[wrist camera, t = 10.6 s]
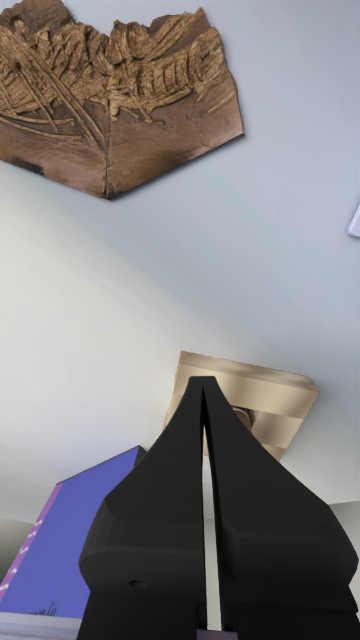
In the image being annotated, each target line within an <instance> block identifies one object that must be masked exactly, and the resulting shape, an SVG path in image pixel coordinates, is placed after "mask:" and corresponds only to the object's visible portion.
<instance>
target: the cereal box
mask: <svg viewBox="0 0 360 640" xmlns="http://www.w3.org/2000/svg"><path fill="white" fill-rule="evenodd" d="M146 453H147V452H146V451H145V450H144V449H143V448H142V447H141V446H140V445H138V446H136V447H134V448H132V449H130V450H128V451H126V452H124V453H121V454H119V455H117V456H115V457H113V458H111V459H109V460H107V461H104V462H102V463H100V464H98V465H96V466H94V467H92V468H89V469H87V470H85V471H83V472H81V473H79V474H77V475H75V476H72V477H70V478H68V479H66V480H64V481H62V482H60V483H58V484H57V485H56V487H55V488H54V490H53V492H52V494H51V496H50V497H49V499H48V501H47V503H46V505H45V506H44V508H43V510H42V512H41V514H40V515H39V517H38V519H37V521H36V523H35V524H34V526H33V528H32V530H31V532H30V533H29V535H28V537H27V539H26V541H25V542H24V544H23V546H22V548H21V550H20V551H19V553H18V555H17V557H16V559H15V560H14V562H13V564H12V566H11V567H10V569H9V571H8V573H7V575H6V577H5V579H4V580H3V582H2V584H1V585H0V612H8V613H19V614H31V615H42V616H54V617H65V618H77V619H82V618H83V615H84V611H85V608H86V604H87V601H88V598H89V594H90V590H89V588H88V586H87V584H86V582H85V581H84V579H83V577H82V575H81V573H80V569H79V565H78V561H79V557H80V555H81V552H82V549H83V546H84V543H85V540H86V537H87V534H88V531H89V529H90V526H91V524H92V522H93V520H94V517H95V515H96V513H97V511H98V509H99V507H100V505H101V503H102V501H103V499H104V497H105V496H106V495H107V494H108V493H109V492H110V491H111V490H112V489H113V488H114V487H115V486H116V485H117V484H118V483H119V482H120V481H121V480H122V479H123V478H125V477H126V476H127V474H128V473H129V472H130V471H131V470H132V469H133V468H134V467H135V466H136V465H137V463H138V462H139V461H140V460H141V459H142V458H143V457H144V455H145V454H146Z"/></svg>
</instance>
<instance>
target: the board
mask: <svg viewBox="0 0 360 640" xmlns="http://www.w3.org/2000/svg"><path fill="white" fill-rule="evenodd" d="M190 376H215V377H216V380H217V382H218V384H219V386H220V388H221V390H222V392H223V394H224V395H225V397H226V399H227V400H228V402H229V403H230V405H233V406H238V407H243V408H247V410H246V412H247V415H248V417H249V422H250V426H251V429H252V433H253V436H254V437H255V438H256V439H257V440H258V441H259V442H260V443H261V444H262V446H263V447H264V448H265V449H266V450H267V451H268V452H269V453H270V454H271V455H272V456H273V457H274V458H275V459H276V460H277V461H278V462H279V461H280V459H281V457H282V456H283V454H284V452H285V451H286V449H287V447H288V445H289V444H290V442H291V440H292V439H293V437H294V435H295V433H296V432H297V430H298V428H299V427H300V425H301V423H302V422H303V420H304V418H305V416H306V415H307V413H308V411H309V410H310V408H311V406H312V404H313V403H314V401H315V399H316V398H317V396H318V394H319V391H318V390H317V389H316V387H315V386H314V385H313V384H312V383H311V381H310V380H309V379H308V378H307V376H302V375H297V374H292V373H287V372H283V371H278V370H273V369H268V368H263V367H258V366H253V365H248V364H243V363H238V362H233V361H228V360H223V359H219V358H214V357H209V356H204V355H199V354H194V353H189V352H184V351H181V354H180V358H179V363H178V367H177V372H176V376H175V380H174V385H173V389H172V393H171V398H170V402H169V407H168V411H167V415H166V420H165V424H164V428H163V430H164V429H165V427H166V426H167V424H168V423H169V421H170V419H171V418H172V416H173V414H174V412H175V411H176V409H177V407H178V405H179V403H180V401H181V399H182V396H183V394H184V392H185V389H186V387H187V384H188V380H189V377H190ZM203 455H204V456H209V454H208V447H207V441H206V434H205V427H204V442H203Z"/></svg>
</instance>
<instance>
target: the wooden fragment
mask: <svg viewBox="0 0 360 640" xmlns="http://www.w3.org/2000/svg"><path fill="white" fill-rule="evenodd" d="M242 133H244V131H243V127H242V121H241V115H240V110H239V103H238V90H237V84H236V81H235V80H234V78H233V76H232V74H231V73H230V71H229V70H228V68H227V66H226V64H225V59H224V53H223V51H222V44H221V37H220V34H219V32H218V30H217V29H216V28H215V27H210V26H209V24H208V21H207V19H206V17H205V14H204V11H203V9H202V7H199V8H198V10H197V11H196V13H195V14H191V13H188V12H184V13H183V14H181V15H166V16H162V17H158V18H156V19H154V20H153V21H152V23H151V26H150V28H149V27H145V26H144V25H143V24H142V25H141V26H140V25H139V24H138V23H137V22H131V23H128V24H123V23H121V22H120V21H118V20H116V21H114V28H113V30H112V32H111V33H110V37H108V36H107V35H105V34H99V33H98V32H97V30H96V29H94V28H93V27H92V26H91V25H85V24H84V23H81V22H78V23H77V24H76V23H75V22H74V20H73V19H72V18H71V16H70V14H69V13H68V11H67V9H66V8H65V6H64V4H63V3H62V1H61V0H23V1H22V2H21V3H15V5H14V6H13V7H12V8H6V9H4V10H3V12H2V14H0V159H1V160H3V161H6V162H8V163H11V164H13V165H16V166H19V167H22V168H25V169H27V170H30V171H32V172H34V173H37V174H40V175H43V176H44V177H48V178H50V179H52V180H56V181H58V182H61V183H63V184H66V185H68V186H72V187H76V188H79V189H82V191H85V192H87V193H90V194H93V195H95V196H98V197H101V198H105V197H104V188H106V189H107V193H106V194H105V195H106V198H105V199H107V200H111V199H113V198H115V197H116V196H117V195H119V193H123V192H125V191H127V190H129V189H131V188H133V187H135V186H137V185H139V184H141V183H143V182H146V181H148V180H150V179H151V178H152V177H156V176H157V175H159V174H162V173H164V172H166V171H168V170H170V169H172V168H174V167H176V166H178V165H180V164H183V163H185V162H186V161H188V160H191V159H193V158H195V157H196V156H199V155H202V154H204V153H205V152H206V151H209V150H212V149H213V148H215V147H217V146H219V145H221V144H223V143H225V142H227V141H228V140H230V139H233V138H234V137H236V136H238V135H240V134H242Z"/></svg>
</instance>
